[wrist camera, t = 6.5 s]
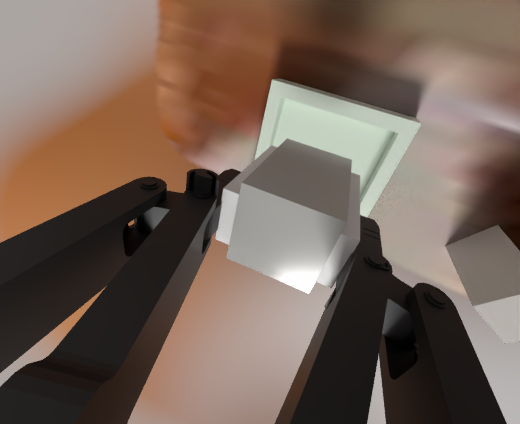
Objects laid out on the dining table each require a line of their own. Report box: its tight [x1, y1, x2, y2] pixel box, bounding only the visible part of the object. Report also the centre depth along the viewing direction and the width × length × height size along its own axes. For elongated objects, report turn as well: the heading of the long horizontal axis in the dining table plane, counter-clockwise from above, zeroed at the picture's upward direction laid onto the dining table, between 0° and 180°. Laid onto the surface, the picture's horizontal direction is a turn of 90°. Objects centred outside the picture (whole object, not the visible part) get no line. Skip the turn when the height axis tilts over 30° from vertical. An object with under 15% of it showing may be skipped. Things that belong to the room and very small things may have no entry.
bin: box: [255, 78, 422, 217], centre depth 23 cm, size 14×11×2 cm
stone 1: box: [227, 138, 352, 294], centre depth 13 cm, size 4×4×7 cm
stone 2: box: [446, 225, 520, 344], centre depth 19 cm, size 4×4×7 cm
